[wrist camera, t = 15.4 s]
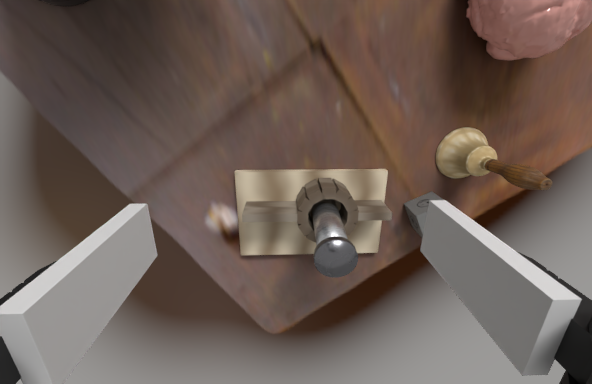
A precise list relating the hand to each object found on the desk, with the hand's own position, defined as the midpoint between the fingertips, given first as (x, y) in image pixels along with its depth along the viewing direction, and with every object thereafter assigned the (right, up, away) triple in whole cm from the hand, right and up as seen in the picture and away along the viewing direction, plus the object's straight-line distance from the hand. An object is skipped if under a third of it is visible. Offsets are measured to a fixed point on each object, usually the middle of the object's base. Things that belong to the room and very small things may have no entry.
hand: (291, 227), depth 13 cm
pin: (+5, 0, +33) cm, 33 cm away
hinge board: (+3, -2, +35) cm, 35 cm away
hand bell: (+27, +8, +32) cm, 43 cm away
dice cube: (+22, -1, +36) cm, 42 cm away
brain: (+28, +28, +25) cm, 46 cm away
